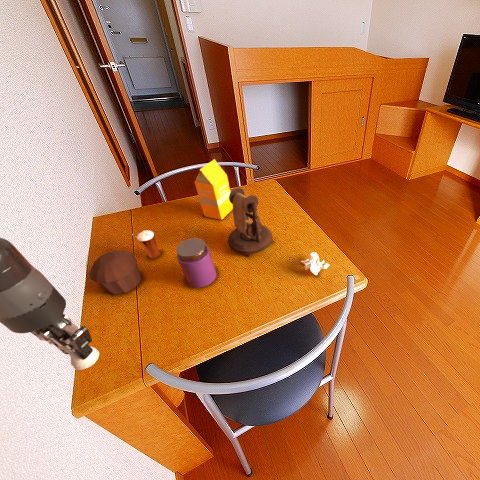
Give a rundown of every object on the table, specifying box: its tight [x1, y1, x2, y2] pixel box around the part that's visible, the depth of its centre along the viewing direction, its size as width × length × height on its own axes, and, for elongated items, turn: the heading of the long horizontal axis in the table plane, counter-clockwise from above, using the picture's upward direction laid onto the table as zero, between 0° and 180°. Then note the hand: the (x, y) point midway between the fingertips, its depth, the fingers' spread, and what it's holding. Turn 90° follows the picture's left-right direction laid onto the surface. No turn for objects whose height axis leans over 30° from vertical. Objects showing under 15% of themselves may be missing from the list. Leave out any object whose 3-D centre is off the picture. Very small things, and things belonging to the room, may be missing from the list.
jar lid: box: [175, 237, 207, 261], centre depth 75 cm, size 8×8×2 cm
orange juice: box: [194, 158, 233, 221], centre depth 101 cm, size 8×9×20 cm
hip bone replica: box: [300, 251, 330, 276], centre depth 85 cm, size 8×4×7 cm
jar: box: [176, 244, 218, 289], centre depth 79 cm, size 8×8×12 cm
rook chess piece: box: [57, 338, 100, 371], centre depth 54 cm, size 4×4×8 cm
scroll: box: [227, 186, 273, 257], centre depth 88 cm, size 15×15×20 cm
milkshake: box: [130, 230, 161, 259], centre depth 85 cm, size 4×5×10 cm
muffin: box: [88, 250, 142, 296], centre depth 76 cm, size 12×11×10 cm
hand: (79, 352), depth 54 cm, fingers closed on rook chess piece, 3 cm apart
